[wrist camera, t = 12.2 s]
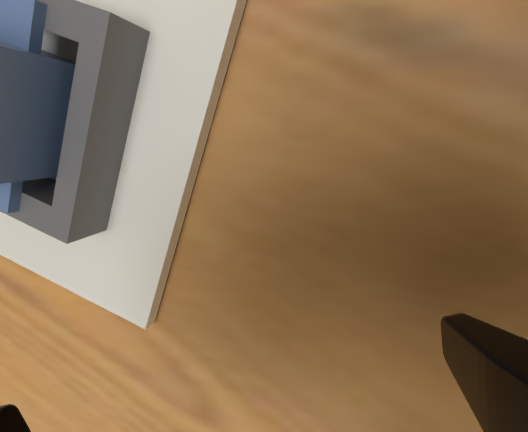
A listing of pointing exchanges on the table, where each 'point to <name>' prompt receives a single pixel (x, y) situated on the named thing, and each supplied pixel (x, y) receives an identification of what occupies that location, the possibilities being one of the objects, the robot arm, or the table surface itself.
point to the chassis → (124, 146)
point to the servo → (29, 100)
